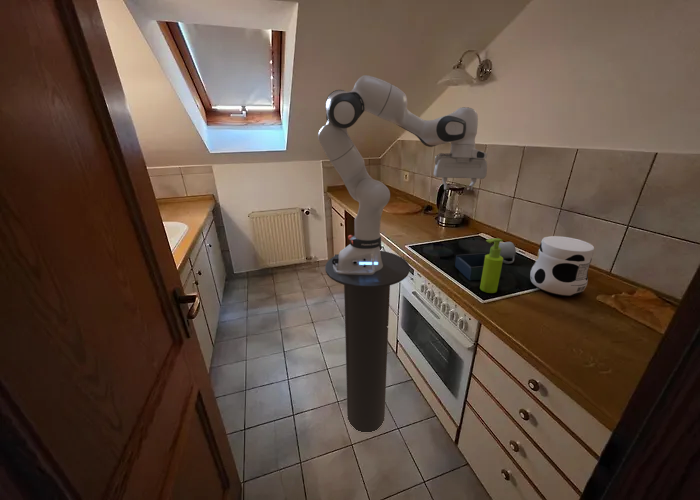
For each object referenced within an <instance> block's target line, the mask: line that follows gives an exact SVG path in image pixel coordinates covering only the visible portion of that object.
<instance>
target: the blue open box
mask: <svg viewBox="0 0 700 500" xmlns="http://www.w3.org/2000/svg"><path fill="white" fill-rule="evenodd" d="M485 255H487V254H486V252H481V253H466V254H465V253H464V254H456V256H455V263H454V267H455V268H456V269H457V271H459V272H460V273H461V274H462V275H463V276H464V277H465V278H466V279H467V280H468V281H481V278H482V272H483V266H484V260H485ZM502 272H503V264H502V268H501V273H500V278H502V277H501V276H502Z"/></svg>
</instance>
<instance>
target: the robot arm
mask: <svg viewBox="0 0 700 500" xmlns="http://www.w3.org/2000/svg"><path fill="white" fill-rule="evenodd" d="M324 107H325V117H326V123H325V124H324V125H323V126H322V127H321V128H320V129H319V130H318V132H317V133H318V134H317V140H318V142H319V144H320V147H321V148H322V150H323V153H324V154H325V156H326V157H327V159H328V160H329V162H330V163H331V165H332V167H333V168H334V169H335V171H336V172H337V173H338V175H339V176H340V178H341V180H342V181H343V184H344V186H345V188H346V190H347V192H348V194H349V195H350V197H351V199H353V200H354V201H356V202H358V210H357V215H356V216H355V217H354V235H352V234H349V235H348V236H347V238H348V240H349V244H348V245H347V246H345V247H344V248H343V249H341V250H340V251H339V253H338V254H334V256H335V258H334V259H333V260H332V263H333V269H334V271H335V272H336V273H337V274H350V275H373V274H374V273H375V272H376V271H378V270H380V269H382V267H383V263H382V259H381V252H380V251H381V248H382V236H381V223H382V222H381V221H382V216H383V212H384V209H385V207H386V206H387V205H388V203H389V202H390V199H391V191H390V189H389V188H388V186H386V184H384V183H383V182H382V181H380V180H377V179H374V178H373V177H372V176H371V175H370V174H369V173H368V170H367V167H366V164H365V163H366V162H365V159H364V157H363V156H362V154H361V153H360V151H359V150H358V148H357V146H356V144H355V143H354V141H353V140H352V138H351V137H350V135H349V132H348V128H351V127H352V126H353V125H355V124H356V123H357V122H358V120H359V119H360V117H361V116H362V115H363V114H364V112H366V113H369V114H371V115H374V116H375V117H377V118H379V119H382V120H385V121H387V122H390V123H392V124H394V125H396V126H398V127H399V128H401V129H404V130H405V131H406V132H408V133H411V134H412V135H413V136H415V137H417V138H418V140H419V141H420V143H422V144H423V146H426V147H429V148H433V147H437V146H439V145H440V146H441V145H444V144H449V143H450V153H449V152H445V153H443V152H440V153H439V154H436V155H435V159H434V163H435V165H434V169H433V176H434V178H441V182H442V184H443V190H444V191H447V190H448V191H449V190H450V185H449V184H448V183H447V181H448V179H470V184H469V185H466V190H467V191H473V187H474V185H475V184H476V182H477V180H483V179H485V178H486V177H487V174H488V162H487V160H486V159H487V158H488V153H486V152H484V151H482V150H479V149H477V148H476V137H477V134H478V126H479V116H478V112H477V110H476V109H474V108H472V107H466V106H465V107H464V106H463V107H458V108H457V109H456V110H455V111H453V112H451V113H448V114H447V115H443V116H440V117H437V118H434V119H429V120H428V119H427V120H426V119H423V118H422V117H420V116H419V115H417V114H414V113H413V112H411V111H410V110H409V108H408V97H407V94H406V93H405V92H404V91H403V90H402V89H401V88H399V87H397V86H396V85H394V84H392V83H390V82H388V81H386V80H384V79H382V78H378V77H375V76H372V75H368V74H363V75H361V76H360V77H359V78H357V80H356V82H355V83H354V85H353V88H352V89H351V90H349V91H346V90H344V89H336V90H333V91H332V92H330V93H329V94H328V96H327V97H326V100H325V105H324Z"/></svg>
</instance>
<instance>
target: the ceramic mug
mask: <svg viewBox="0 0 700 500" xmlns="http://www.w3.org/2000/svg"><path fill="white" fill-rule="evenodd" d="M492 246H494V244H492V245H491V247H492ZM499 247H500V248H501V252H500V256H501V257H503V263H502V264H505V265H511V264H513V263H514V262H515V257H516V254H517V249H516V246H515V244H514V243H513V242H512V241H504V242H500V243H499ZM508 260H511V261H508Z"/></svg>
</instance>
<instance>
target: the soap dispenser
mask: <svg viewBox="0 0 700 500" xmlns="http://www.w3.org/2000/svg"><path fill="white" fill-rule="evenodd" d="M503 241H504V240H503V239H502V238H499V237H496V238H494V237H493V238H488V239H486V240H485V242H487V243H488V244H492V243H493V245H494V246H492V245H491V246H490V249H489V253H487V254H486V255H485V260H484V266H483V272H482V278H481V280H480V284H479V289H480V291H482V292H483V293H486V294H495V293H497V292H498V287H499V282H500V279H501V277H500V273H501V274H502V272H501V268H502V269H503V266H502V265H503V264H504V263H503V257H501V256H500V252H501V248H500V247H499V243H503Z"/></svg>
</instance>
